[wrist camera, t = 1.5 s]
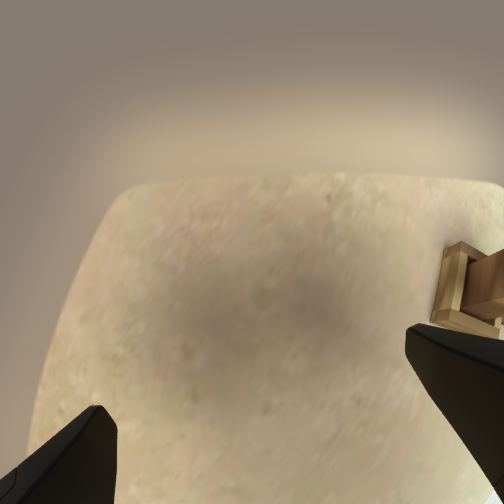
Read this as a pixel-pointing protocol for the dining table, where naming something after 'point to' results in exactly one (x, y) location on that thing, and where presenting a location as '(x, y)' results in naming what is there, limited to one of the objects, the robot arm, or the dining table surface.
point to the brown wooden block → (484, 288)
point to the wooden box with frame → (459, 294)
